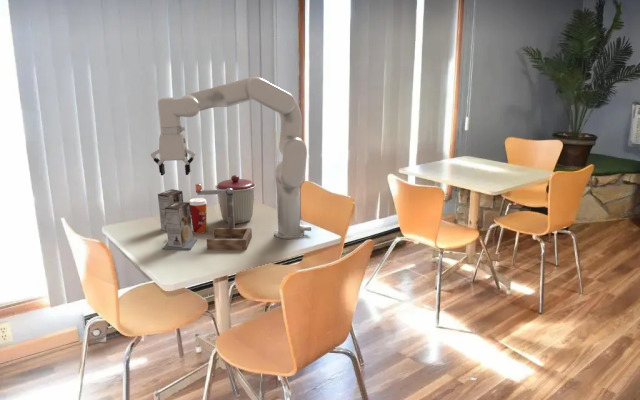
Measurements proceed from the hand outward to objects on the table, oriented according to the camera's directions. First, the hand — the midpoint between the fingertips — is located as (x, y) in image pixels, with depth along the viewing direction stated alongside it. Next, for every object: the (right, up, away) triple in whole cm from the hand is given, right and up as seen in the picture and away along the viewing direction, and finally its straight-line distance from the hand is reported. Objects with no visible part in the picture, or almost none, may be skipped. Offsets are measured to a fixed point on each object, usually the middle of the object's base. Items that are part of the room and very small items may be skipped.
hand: (175, 174), depth 221 cm
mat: (0, -28, +8) cm, 29 cm away
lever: (+13, -8, +12) cm, 20 cm away
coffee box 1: (-8, -22, +29) cm, 38 cm away
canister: (+19, -19, +38) cm, 47 cm away
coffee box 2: (0, -27, +8) cm, 29 cm away
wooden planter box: (+20, -27, +11) cm, 35 cm away
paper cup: (+4, -24, +24) cm, 34 cm away
